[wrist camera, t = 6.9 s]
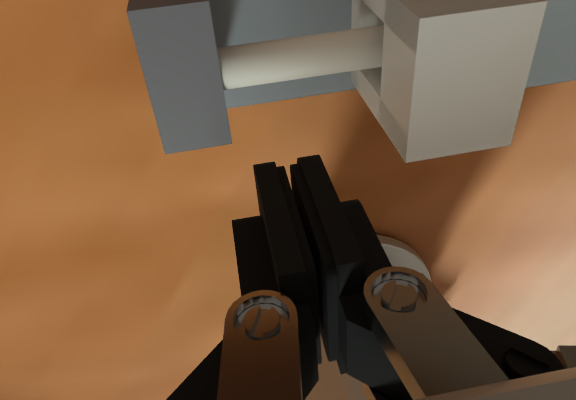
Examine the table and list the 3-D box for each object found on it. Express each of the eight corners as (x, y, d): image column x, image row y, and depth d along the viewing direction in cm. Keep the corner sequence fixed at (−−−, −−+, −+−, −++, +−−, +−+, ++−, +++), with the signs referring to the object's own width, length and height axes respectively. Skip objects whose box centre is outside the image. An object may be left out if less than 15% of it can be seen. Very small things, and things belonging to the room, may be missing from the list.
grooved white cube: (447, -51, 18) (547, 0, 13) (432, 67, 21) (510, 145, 16) (352, -39, 18) (419, 18, 13) (350, 80, 21) (405, 163, 16)
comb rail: (501, -125, 20) (633, -98, 14) (469, 64, 25) (556, 139, 19) (121, -84, 18) (100, -35, 13) (168, 108, 23) (168, 205, 18)
